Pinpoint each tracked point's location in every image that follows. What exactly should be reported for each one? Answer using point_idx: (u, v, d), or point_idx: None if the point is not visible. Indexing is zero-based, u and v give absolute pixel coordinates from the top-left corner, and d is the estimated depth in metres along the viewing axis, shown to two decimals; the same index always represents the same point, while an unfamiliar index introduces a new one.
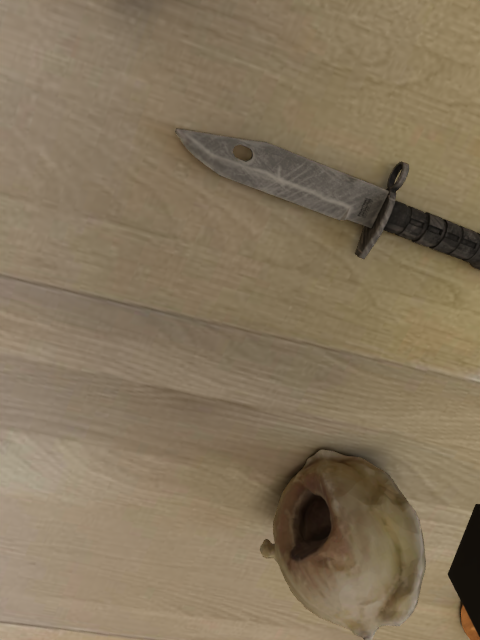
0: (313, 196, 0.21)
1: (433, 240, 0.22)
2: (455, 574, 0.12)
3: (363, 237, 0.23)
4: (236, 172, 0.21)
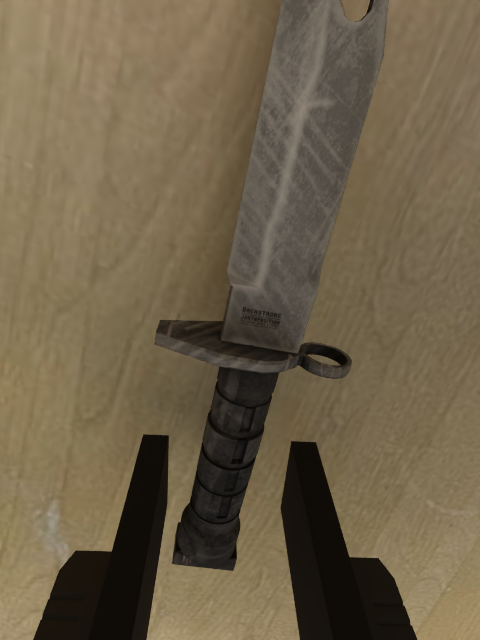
0: (271, 202, 0.09)
1: (219, 456, 0.11)
2: (282, 505, 0.14)
3: (197, 326, 0.11)
4: None
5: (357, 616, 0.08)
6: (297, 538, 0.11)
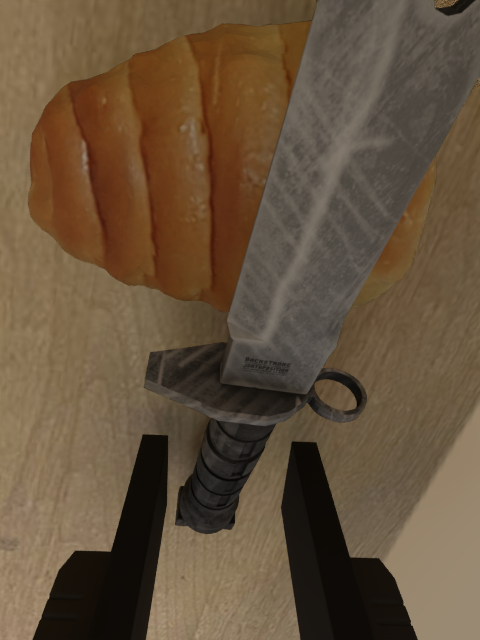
0: (287, 259, 0.07)
1: (217, 471, 0.11)
2: (283, 506, 0.14)
3: (193, 358, 0.10)
4: None
5: (357, 616, 0.08)
6: (297, 538, 0.11)
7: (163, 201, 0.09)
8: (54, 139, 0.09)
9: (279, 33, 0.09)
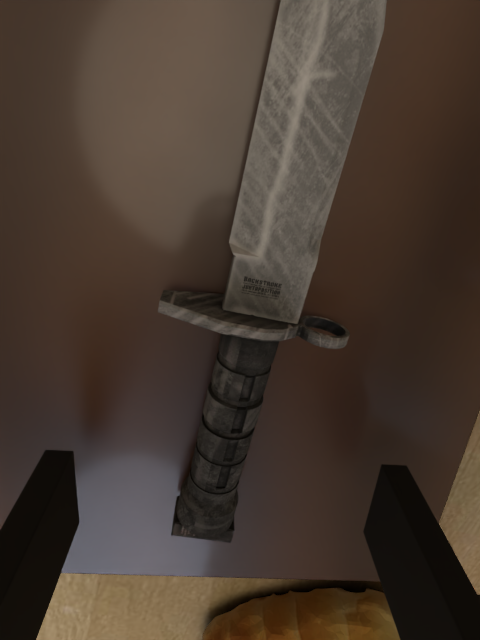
0: (274, 172, 0.10)
1: (218, 424, 0.12)
2: (367, 531, 0.13)
3: (199, 297, 0.11)
4: None
5: None
6: (401, 570, 0.11)
7: None
8: None
9: (348, 636, 0.17)
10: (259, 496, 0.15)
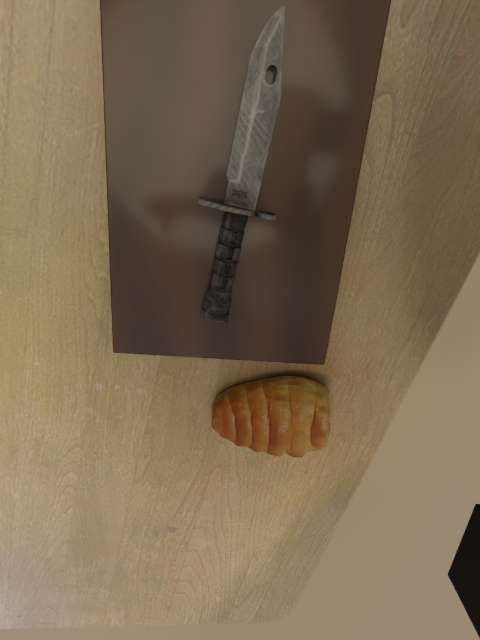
0: (243, 146, 0.26)
1: (222, 255, 0.28)
2: (455, 574, 0.12)
3: (214, 200, 0.27)
4: (255, 70, 0.24)
5: None
6: None
7: (256, 432, 0.33)
8: (224, 412, 0.33)
9: (288, 389, 0.33)
10: (241, 308, 0.31)
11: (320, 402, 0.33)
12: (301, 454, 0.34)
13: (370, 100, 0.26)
